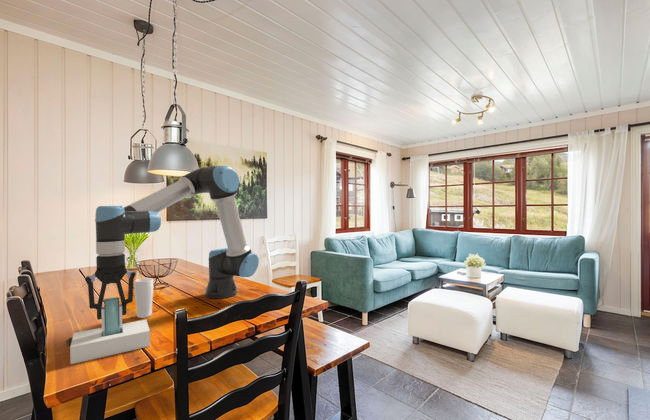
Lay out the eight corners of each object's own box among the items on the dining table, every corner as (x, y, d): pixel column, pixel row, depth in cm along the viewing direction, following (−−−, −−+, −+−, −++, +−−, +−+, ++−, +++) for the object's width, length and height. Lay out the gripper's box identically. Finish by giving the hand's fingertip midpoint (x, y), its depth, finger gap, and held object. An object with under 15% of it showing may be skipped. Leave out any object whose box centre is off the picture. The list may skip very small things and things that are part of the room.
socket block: (146, 333, 111) (146, 319, 111) (150, 346, 101) (149, 330, 101) (74, 348, 100) (74, 332, 99) (70, 364, 90) (70, 347, 90)
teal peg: (119, 338, 103) (119, 296, 103) (120, 343, 100) (119, 299, 100) (104, 341, 101) (104, 298, 101) (104, 346, 98) (103, 301, 97)
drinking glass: (136, 314, 130) (136, 278, 130) (155, 312, 132) (154, 277, 132) (133, 320, 124) (132, 282, 123) (152, 317, 126) (151, 280, 126)
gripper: (140, 250, 108) (141, 317, 108) (77, 255, 98) (79, 329, 98) (142, 253, 101) (143, 324, 102) (75, 258, 92) (77, 337, 92)
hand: (112, 326), depth 100 cm, fingers closed on teal peg, 4 cm apart
